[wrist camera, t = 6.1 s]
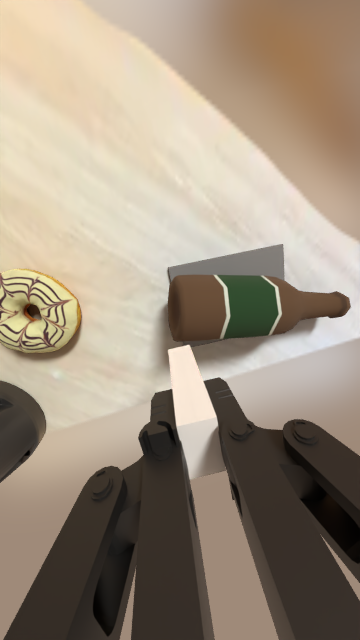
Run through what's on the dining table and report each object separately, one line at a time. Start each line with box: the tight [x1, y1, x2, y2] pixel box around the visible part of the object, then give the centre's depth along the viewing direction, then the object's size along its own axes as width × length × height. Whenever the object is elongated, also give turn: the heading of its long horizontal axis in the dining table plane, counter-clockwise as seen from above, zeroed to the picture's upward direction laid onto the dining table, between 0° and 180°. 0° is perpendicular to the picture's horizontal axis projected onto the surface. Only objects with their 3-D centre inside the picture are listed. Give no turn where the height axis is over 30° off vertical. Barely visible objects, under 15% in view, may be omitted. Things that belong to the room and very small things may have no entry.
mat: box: [168, 244, 284, 347], centre depth 29 cm, size 16×12×1 cm
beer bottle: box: [168, 275, 351, 342], centre depth 25 cm, size 8×8×24 cm
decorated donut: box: [0, 269, 81, 353], centre depth 25 cm, size 10×11×4 cm
